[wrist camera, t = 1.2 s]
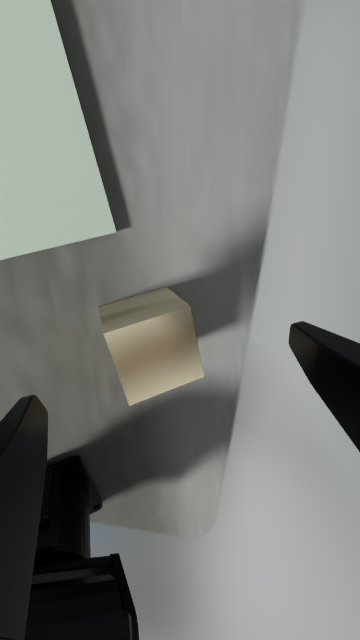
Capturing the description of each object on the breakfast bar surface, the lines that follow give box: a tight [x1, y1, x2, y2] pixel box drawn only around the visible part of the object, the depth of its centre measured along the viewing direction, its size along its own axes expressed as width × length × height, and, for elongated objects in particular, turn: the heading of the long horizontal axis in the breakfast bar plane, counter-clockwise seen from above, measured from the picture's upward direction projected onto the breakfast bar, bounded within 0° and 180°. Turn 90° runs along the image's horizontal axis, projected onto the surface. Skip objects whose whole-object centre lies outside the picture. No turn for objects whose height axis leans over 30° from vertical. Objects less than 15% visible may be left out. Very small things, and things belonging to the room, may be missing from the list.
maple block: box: [99, 287, 204, 406], centre depth 18 cm, size 5×5×5 cm
